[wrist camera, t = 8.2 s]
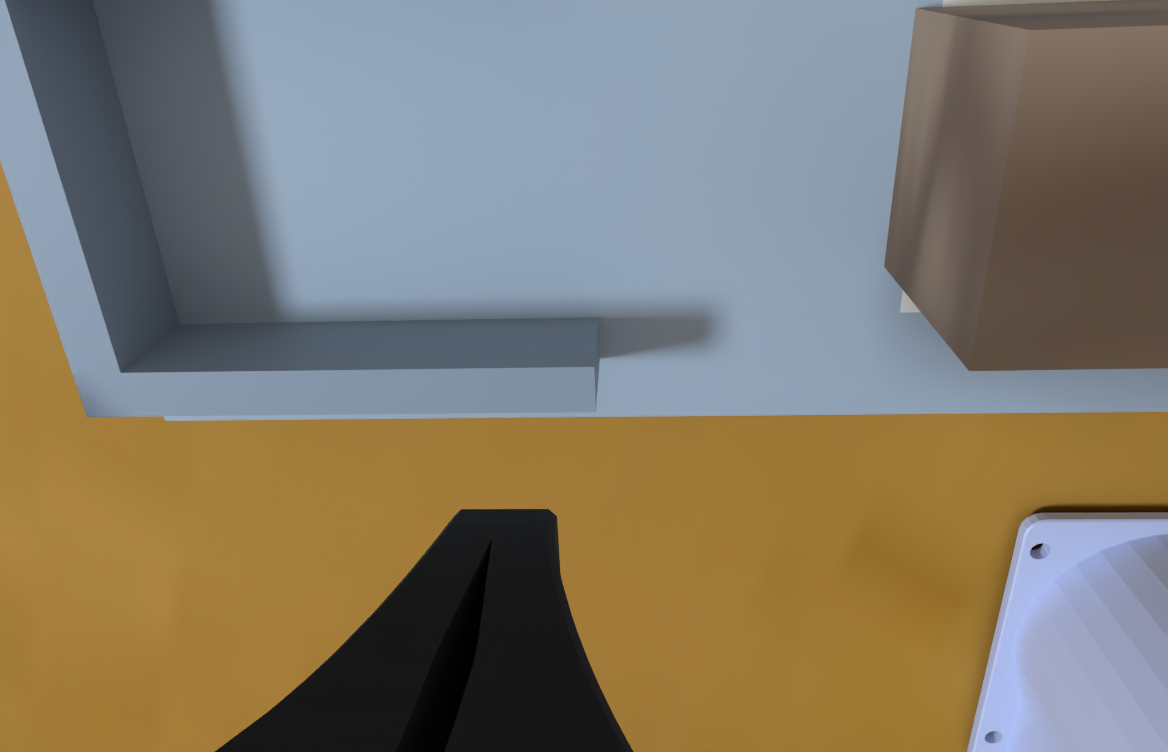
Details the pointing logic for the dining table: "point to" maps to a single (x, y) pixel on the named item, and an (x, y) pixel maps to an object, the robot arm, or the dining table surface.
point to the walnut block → (1037, 184)
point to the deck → (484, 210)
